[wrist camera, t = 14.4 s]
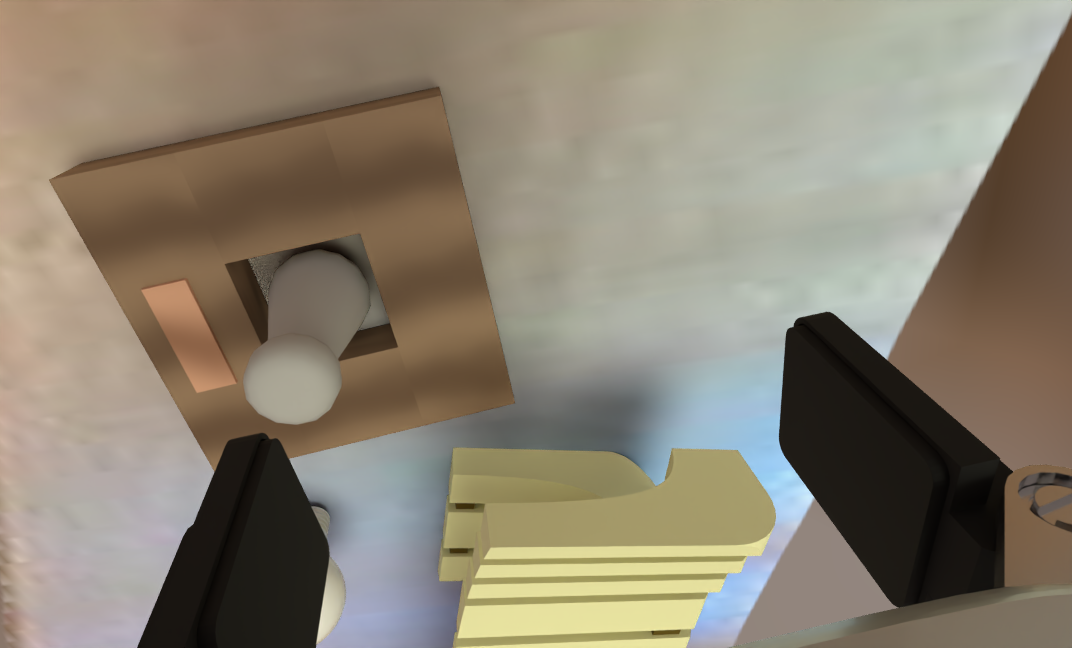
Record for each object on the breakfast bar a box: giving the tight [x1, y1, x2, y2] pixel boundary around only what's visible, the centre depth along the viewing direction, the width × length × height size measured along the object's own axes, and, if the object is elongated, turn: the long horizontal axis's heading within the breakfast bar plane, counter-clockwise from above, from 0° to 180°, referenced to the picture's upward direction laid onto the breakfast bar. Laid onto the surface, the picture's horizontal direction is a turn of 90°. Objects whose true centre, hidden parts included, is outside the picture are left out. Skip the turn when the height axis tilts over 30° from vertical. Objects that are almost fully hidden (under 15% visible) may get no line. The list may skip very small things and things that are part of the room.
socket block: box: [49, 87, 515, 472], centre depth 38 cm, size 20×20×4 cm
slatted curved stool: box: [438, 448, 776, 648], centre depth 45 cm, size 30×16×18 cm, turn 171°
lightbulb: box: [311, 506, 346, 645], centre depth 44 cm, size 6×6×11 cm
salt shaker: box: [243, 249, 371, 425], centre depth 34 cm, size 6×6×13 cm
